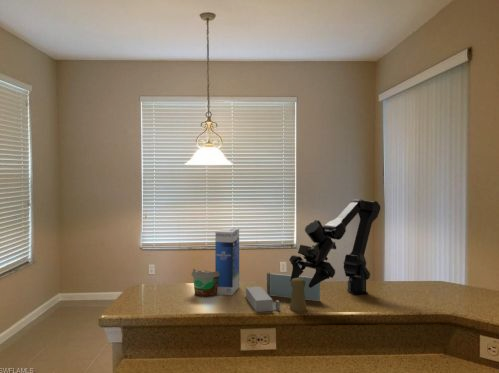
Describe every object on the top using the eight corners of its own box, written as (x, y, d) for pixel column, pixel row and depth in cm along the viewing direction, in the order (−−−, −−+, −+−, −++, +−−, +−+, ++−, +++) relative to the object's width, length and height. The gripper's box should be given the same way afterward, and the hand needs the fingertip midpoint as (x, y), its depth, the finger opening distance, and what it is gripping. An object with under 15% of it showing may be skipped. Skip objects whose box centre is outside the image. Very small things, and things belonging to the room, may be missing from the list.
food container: (185, 296, 155) (185, 271, 155) (193, 292, 161) (193, 268, 161) (213, 299, 150) (212, 273, 150) (220, 295, 156) (220, 270, 156)
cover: (272, 293, 157) (272, 272, 157) (320, 299, 149) (320, 277, 149) (270, 295, 155) (270, 273, 155) (319, 300, 147) (319, 278, 147)
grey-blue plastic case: (269, 294, 157) (269, 272, 157) (284, 310, 137) (284, 284, 137) (245, 296, 155) (245, 273, 155) (256, 312, 135) (256, 286, 135)
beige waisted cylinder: (308, 307, 141) (308, 277, 140) (304, 312, 135) (304, 281, 135) (291, 305, 143) (291, 275, 142) (287, 310, 137) (287, 279, 137)
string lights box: (223, 286, 170) (223, 227, 170) (240, 287, 168) (240, 228, 168) (214, 294, 157) (214, 231, 157) (232, 295, 155) (232, 231, 155)
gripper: (292, 234, 150) (271, 266, 143) (330, 239, 135) (307, 275, 128) (306, 252, 155) (286, 284, 148) (344, 259, 140) (323, 295, 133)
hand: (300, 284), depth 139 cm, fingers open, 9 cm apart
